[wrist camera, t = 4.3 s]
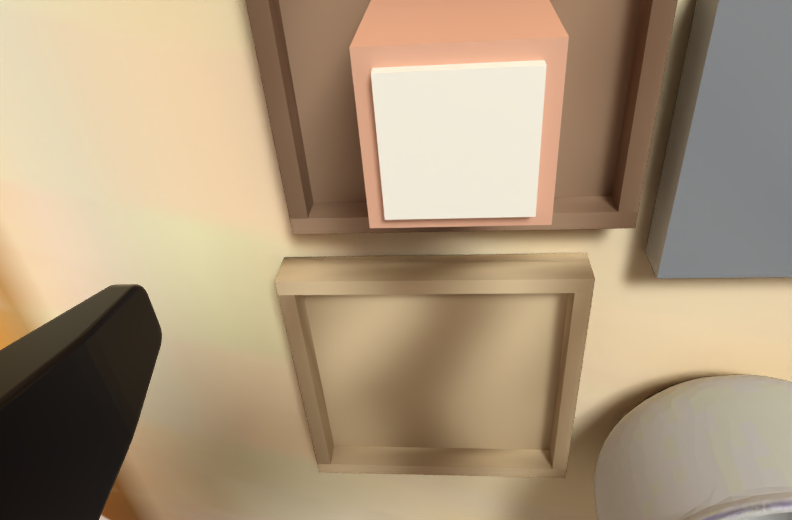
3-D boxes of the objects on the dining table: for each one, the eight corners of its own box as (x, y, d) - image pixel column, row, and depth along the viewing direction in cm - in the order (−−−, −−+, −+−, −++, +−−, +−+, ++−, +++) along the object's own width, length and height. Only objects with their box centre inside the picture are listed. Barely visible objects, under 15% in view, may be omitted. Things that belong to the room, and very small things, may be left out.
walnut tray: (694, -211, 14) (717, -215, 13) (624, 203, 20) (635, 228, 19) (231, -171, 15) (211, -169, 14) (302, 210, 21) (292, 234, 20)
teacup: (545, 476, 29) (571, 662, 23) (632, 308, 23) (702, 499, 17) (823, 522, 30) (926, 717, 23) (984, 369, 23) (1186, 579, 17)
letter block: (532, -32, 16) (571, 41, 11) (524, 113, 18) (553, 232, 13) (381, -22, 16) (346, 52, 11) (392, 118, 19) (368, 235, 13)
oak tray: (586, 253, 22) (594, 278, 20) (560, 449, 28) (565, 477, 27) (284, 257, 23) (274, 282, 22) (325, 445, 29) (319, 472, 28)
